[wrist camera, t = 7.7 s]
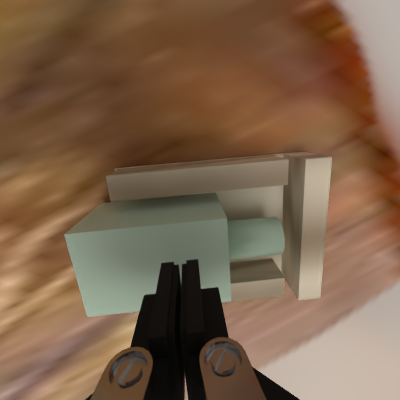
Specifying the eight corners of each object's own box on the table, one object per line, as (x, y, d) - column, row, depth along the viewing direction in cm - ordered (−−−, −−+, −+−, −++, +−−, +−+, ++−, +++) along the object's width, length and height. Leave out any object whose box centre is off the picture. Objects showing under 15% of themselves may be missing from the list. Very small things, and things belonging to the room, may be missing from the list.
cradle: (115, 168, 16) (97, 178, 13) (303, 151, 16) (332, 156, 13) (138, 285, 19) (127, 318, 15) (297, 269, 19) (320, 297, 16)
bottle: (64, 234, 11) (296, 211, 12) (100, 203, 16) (264, 187, 16) (87, 316, 13) (292, 294, 13) (114, 266, 18) (264, 250, 18)
